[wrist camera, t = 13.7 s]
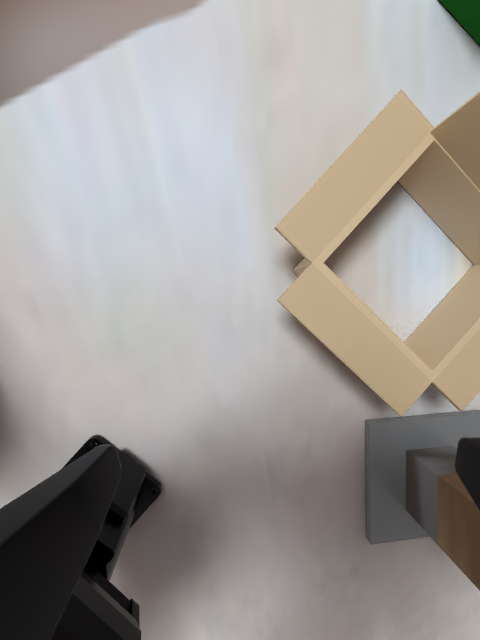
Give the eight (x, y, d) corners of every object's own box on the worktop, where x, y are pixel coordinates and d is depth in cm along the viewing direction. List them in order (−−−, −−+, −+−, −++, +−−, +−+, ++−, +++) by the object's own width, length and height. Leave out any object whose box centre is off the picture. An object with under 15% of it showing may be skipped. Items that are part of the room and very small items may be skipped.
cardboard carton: (390, 418, 21) (548, 522, 11) (235, 273, 19) (258, 240, 9) (504, 290, 21) (760, 279, 11) (362, 133, 19) (520, -48, 9)
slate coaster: (366, 537, 22) (370, 544, 21) (365, 420, 21) (369, 423, 20) (476, 522, 22) (483, 528, 22) (479, 409, 22) (486, 412, 21)
